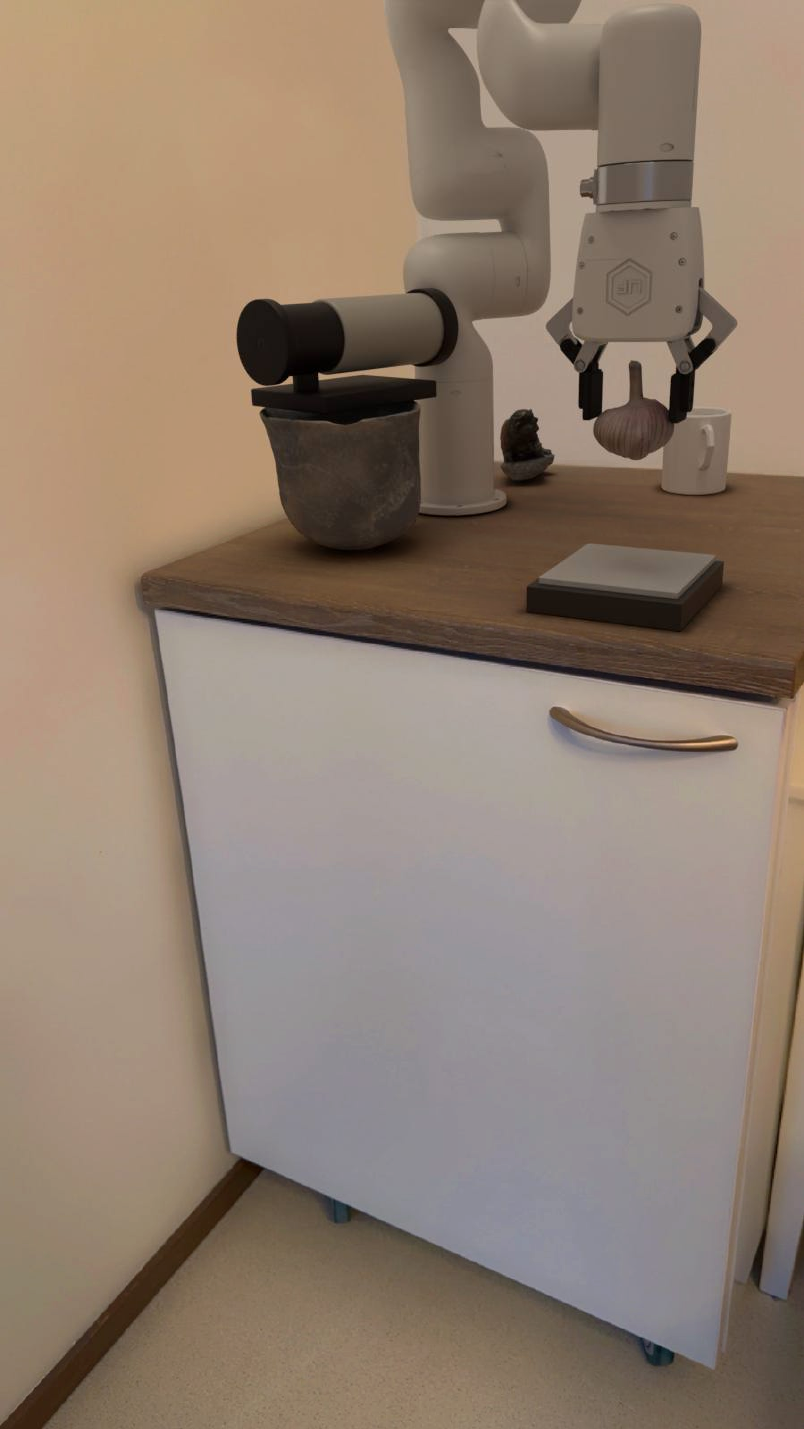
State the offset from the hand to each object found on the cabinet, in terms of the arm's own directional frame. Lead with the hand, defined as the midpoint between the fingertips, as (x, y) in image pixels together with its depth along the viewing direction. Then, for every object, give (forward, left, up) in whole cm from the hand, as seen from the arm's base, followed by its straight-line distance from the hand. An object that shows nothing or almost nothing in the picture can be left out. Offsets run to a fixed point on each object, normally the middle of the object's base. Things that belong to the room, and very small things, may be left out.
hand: (634, 418), depth 92 cm
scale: (0, 0, -16) cm, 16 cm away
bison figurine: (-30, +47, -16) cm, 58 cm away
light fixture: (-38, -1, +5) cm, 39 cm away
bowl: (-35, +7, -16) cm, 39 cm away
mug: (-6, +46, -16) cm, 49 cm away
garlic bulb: (0, 0, -3) cm, 3 cm away
